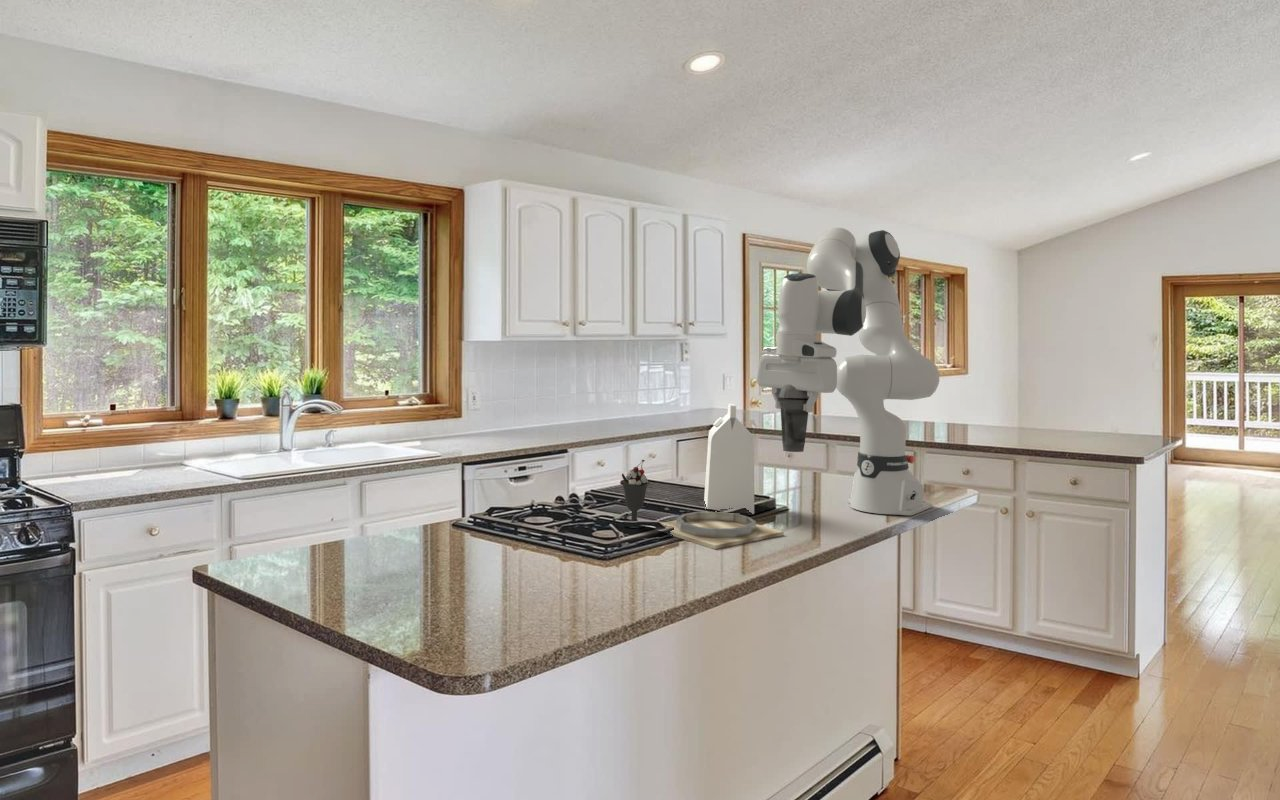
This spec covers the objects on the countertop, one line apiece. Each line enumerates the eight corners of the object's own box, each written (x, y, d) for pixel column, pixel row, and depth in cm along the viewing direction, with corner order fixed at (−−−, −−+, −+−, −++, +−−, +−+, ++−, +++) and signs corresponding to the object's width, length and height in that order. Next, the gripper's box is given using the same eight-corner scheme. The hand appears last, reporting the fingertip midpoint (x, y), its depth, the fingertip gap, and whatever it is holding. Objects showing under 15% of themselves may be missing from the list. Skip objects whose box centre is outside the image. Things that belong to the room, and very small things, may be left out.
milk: (754, 513, 210) (758, 407, 208) (706, 512, 210) (710, 406, 208) (748, 503, 222) (752, 402, 220) (704, 502, 222) (707, 401, 220)
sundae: (653, 524, 196) (655, 459, 195) (641, 531, 190) (642, 463, 189) (627, 521, 199) (629, 456, 198) (614, 527, 193) (615, 460, 192)
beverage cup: (812, 452, 188) (815, 360, 187) (779, 452, 188) (782, 360, 187) (806, 449, 195) (809, 361, 194) (774, 448, 195) (777, 360, 194)
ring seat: (716, 516, 206) (716, 505, 206) (783, 535, 190) (784, 523, 190) (649, 528, 193) (649, 516, 193) (714, 549, 177) (715, 536, 176)
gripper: (752, 345, 196) (749, 406, 197) (824, 349, 180) (821, 415, 181) (770, 345, 200) (768, 405, 201) (843, 349, 184) (839, 414, 185)
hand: (794, 410), depth 191 cm, fingers closed on beverage cup, 6 cm apart
